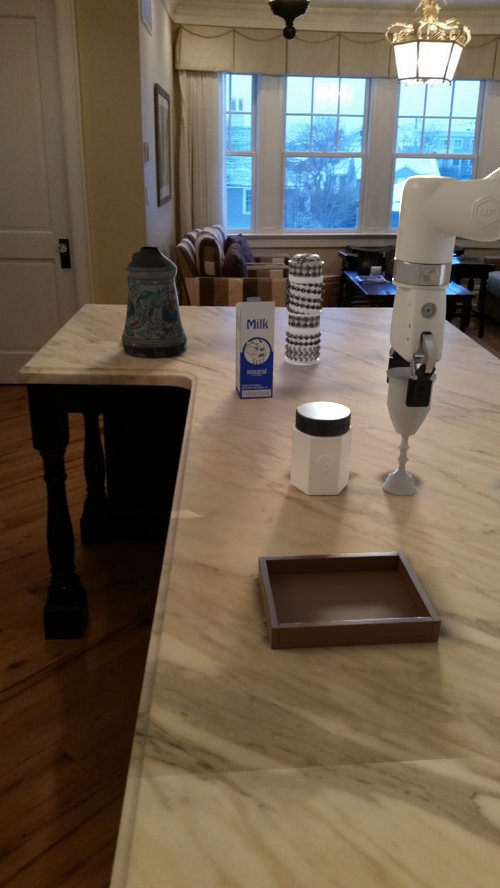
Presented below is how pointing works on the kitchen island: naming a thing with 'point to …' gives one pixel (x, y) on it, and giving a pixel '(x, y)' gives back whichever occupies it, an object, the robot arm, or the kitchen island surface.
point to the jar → (321, 448)
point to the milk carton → (254, 348)
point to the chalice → (403, 427)
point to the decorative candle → (304, 309)
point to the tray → (344, 600)
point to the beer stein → (153, 307)
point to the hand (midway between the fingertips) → (406, 394)
